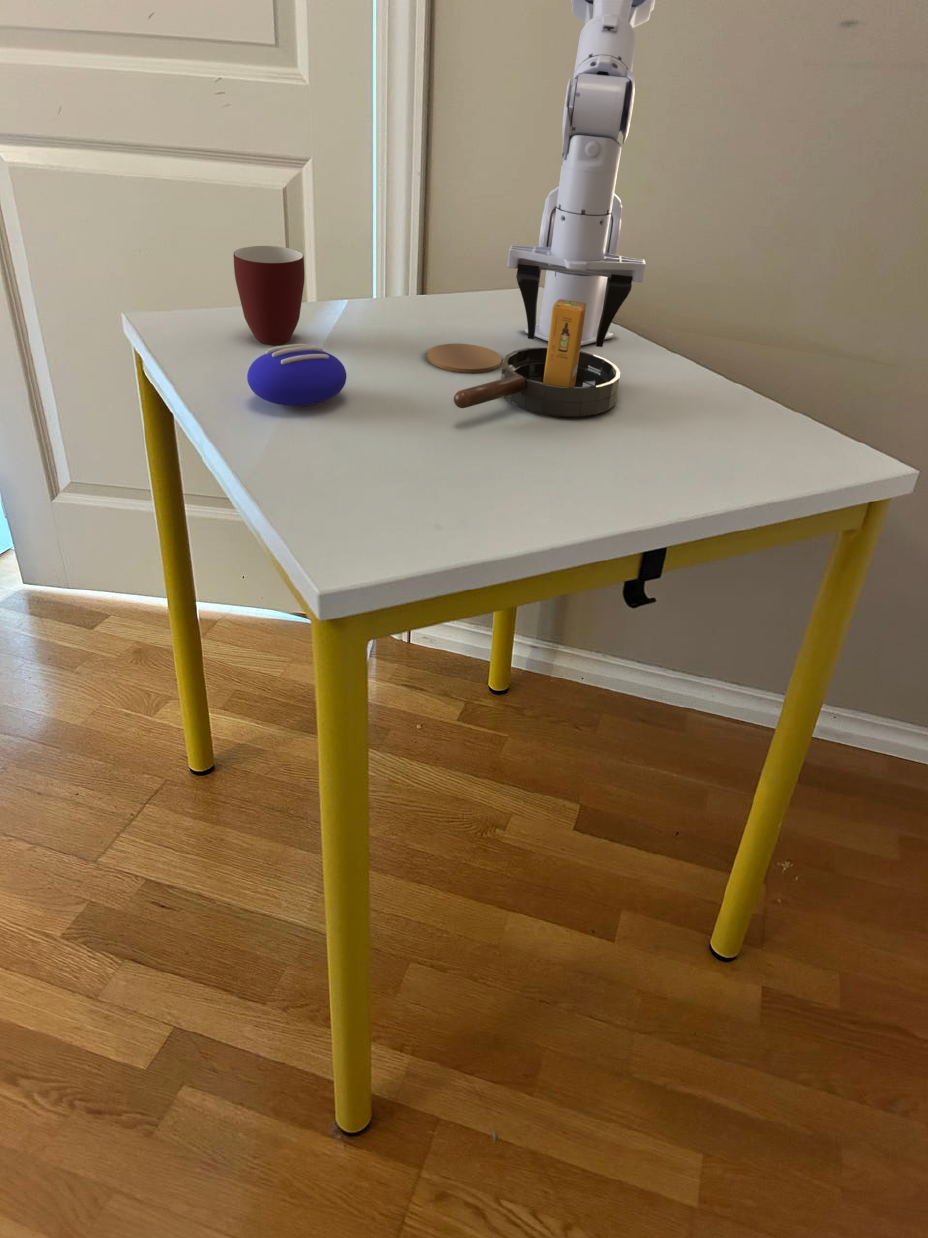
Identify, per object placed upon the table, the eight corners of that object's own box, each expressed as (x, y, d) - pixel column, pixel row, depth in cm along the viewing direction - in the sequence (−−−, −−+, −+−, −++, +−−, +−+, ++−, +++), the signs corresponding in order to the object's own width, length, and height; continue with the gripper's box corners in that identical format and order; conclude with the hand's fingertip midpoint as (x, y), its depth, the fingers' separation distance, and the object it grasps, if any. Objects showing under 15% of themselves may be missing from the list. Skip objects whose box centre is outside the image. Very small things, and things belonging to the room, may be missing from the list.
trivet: (466, 342, 113) (466, 338, 112) (516, 364, 107) (516, 360, 107) (412, 355, 107) (412, 351, 107) (462, 378, 102) (462, 374, 102)
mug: (249, 321, 113) (243, 238, 107) (312, 325, 114) (310, 243, 108) (233, 348, 105) (226, 260, 99) (302, 352, 105) (299, 265, 99)
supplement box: (575, 390, 100) (589, 301, 95) (568, 401, 98) (582, 309, 92) (547, 385, 101) (559, 296, 95) (539, 395, 99) (551, 304, 93)
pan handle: (516, 387, 96) (518, 371, 94) (528, 392, 95) (530, 376, 93) (449, 406, 90) (450, 389, 89) (461, 412, 89) (462, 395, 88)
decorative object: (326, 318, 95) (361, 361, 89) (326, 367, 99) (359, 412, 93) (229, 329, 91) (258, 376, 85) (234, 381, 95) (262, 428, 89)
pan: (553, 368, 107) (557, 339, 105) (637, 403, 100) (643, 373, 98) (476, 389, 100) (479, 359, 98) (561, 429, 92) (566, 397, 90)
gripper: (511, 209, 88) (498, 343, 96) (655, 224, 88) (630, 358, 96) (516, 197, 94) (503, 324, 102) (652, 211, 93) (628, 338, 101)
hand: (565, 340), depth 99 cm, fingers open, 7 cm apart
